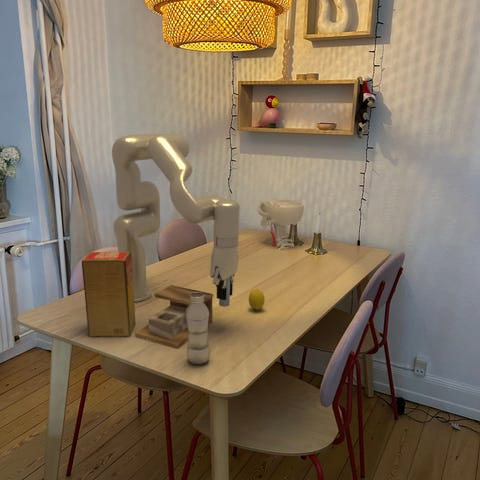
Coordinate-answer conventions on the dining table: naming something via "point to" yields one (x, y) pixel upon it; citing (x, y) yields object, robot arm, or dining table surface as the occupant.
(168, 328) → the stand
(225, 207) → the robot arm
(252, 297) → the lemon
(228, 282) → the peg
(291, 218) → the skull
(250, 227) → the dining table surface
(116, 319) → the food packaging
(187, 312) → the plastic bottle
